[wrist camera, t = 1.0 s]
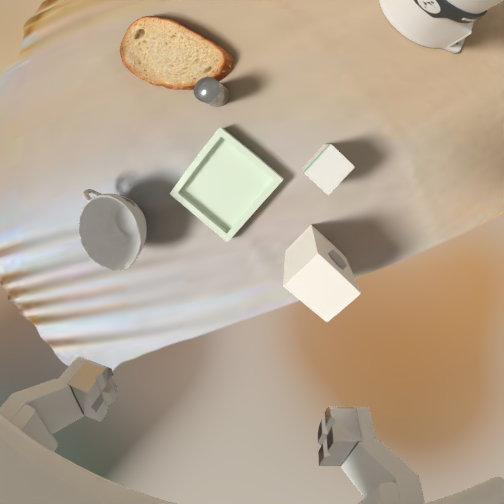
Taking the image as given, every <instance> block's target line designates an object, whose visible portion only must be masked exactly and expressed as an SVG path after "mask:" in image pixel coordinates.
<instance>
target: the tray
mask: <svg viewBox="0 0 504 504" xmlns="http://www.w3.org/2000/svg"><path fill="white" fill-rule="evenodd" d="M283 179H284V178H283V177H282V176H281V175H280V174H278V173H277V172H276V171H275V170H274V169H273V168H271V167H270V166H269V165H268V164H267V163H265V162H264V161H263V160H262V159H261V158H260V157H258V156H257V155H256V154H255V153H254V152H252V151H251V150H250V149H249V148H247V147H246V146H245V145H244V144H243V143H241V142H240V141H239V140H238V139H236V138H235V137H234V136H233V135H231V134H230V133H229V132H228V131H226V130H225V129H224V128H221V127H220V128H219V129H218V130H217V131H216V133H215V134H214V135H213V136H212V138H211V139H210V140H209V141H208V143H207V144H206V145H205V147H204V148H203V149H202V150H201V152H200V153H199V154H198V156H197V157H196V158H195V160H194V161H193V162H192V164H191V165H190V166H189V168H188V169H187V170H186V172H185V173H184V174H183V176H182V177H181V178H180V180H179V181H178V183H177V184H176V185H175V187H174V188H173V190H172V191H171V192H170V195H171V196H173V197H174V198H175V199H176V200H177V201H179V202H180V203H181V204H182V205H183V206H185V207H186V208H187V209H188V210H189V211H190V212H192V213H193V214H194V215H195V216H196V217H198V218H199V219H200V220H201V221H202V222H204V223H205V224H206V225H207V226H208V227H210V228H211V229H212V230H213V231H214V232H216V233H217V234H218V235H219V236H220V237H222V238H223V239H224V240H225V241H226V242H228V241H229V240H230V239H231V238H232V237H233V236H234V235H235V233H236V232H237V231H238V230H239V229H240V228H241V227H242V225H243V224H244V223H245V222H246V221H247V220H248V219H249V218H250V216H251V215H252V214H253V213H254V212H255V211H256V210H257V209H258V207H259V206H260V205H261V204H262V203H263V202H264V201H265V200H266V198H267V197H268V196H269V195H270V194H271V193H272V192H273V191H274V190H275V188H276V187H277V186H278V185H279V184H280V183H281V182H282V181H283Z"/></svg>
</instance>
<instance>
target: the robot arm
mask: <svg viewBox="0 0 504 504" xmlns="http://www.w3.org/2000/svg"><path fill="white" fill-rule="evenodd" d="M503 1H504V0H380V5H381V8H382V10H383V13H384V14H385V16H386V18H387V19H388V20H389V22H390V23H391V24H392V25H393V26H394V27H395V28H396V29H397V30H398V31H399V32H400V33H401V34H403V35H404V36H405V37H407V38H408V39H410V40H412V41H413V42H415V43H417V44H420V45H422V46H426V47H430V48H442V49H445V50H447V51H449V52H451V53H455V54H456V53H458V52H459V51H460V50H461V47H462V45H463V43H464V40H465V38H466V36H468V35H470V34H471V33H472V31H471V29H472V27H473V24H474V21H476V20H478V19H480V18H481V17H482V16H483V15H484V14H485V13H486V12H487V10H488V9H490V8H492V7H493V6H495V5H497V4H499V3H501V2H503ZM112 376H113V372H112V369H111V368H108V367H106V366H103V365H100V364H98V363H95V362H93V361H90V360H87V359H85V358H82V357H78V358H76V359H75V360H74V361H73V363H72V364H71V365H70V366H69V367H68V368H67V369H66V370H65V372H64V373H63V374H62V375H61V377H59V379H58V380H57V379H53V380H50V381H48V382H44V383H42V384H39V385H36V386H33V387H30V388H27V389H24V390H22V391H18V392H16V393H13V394H12V395H11V396H10V397H9V398H8V399H7V401H6V402H5V403H4V404H3V405H2V406H1V408H0V504H175V503H171V502H168V501H165V500H161V499H158V498H155V497H152V496H148V495H146V494H143V493H140V492H137V491H134V490H132V489H129V488H126V487H124V486H121V485H119V484H116V483H114V482H112V481H109V480H107V479H105V478H102V477H100V476H98V475H96V474H94V473H92V472H90V471H88V470H86V469H84V468H82V467H80V466H78V465H76V464H74V463H72V462H70V461H69V460H67V459H65V458H63V457H62V456H60V455H58V454H56V453H55V452H54V451H55V449H56V447H57V446H58V445H57V442H56V440H55V439H54V437H53V436H52V435H51V434H53V433H55V432H57V431H58V430H60V429H62V428H64V427H66V426H67V425H69V424H71V423H73V422H74V421H76V420H78V419H80V418H82V417H83V416H84V415H85V416H88V417H90V418H92V419H95V420H97V421H100V422H101V421H102V419H103V418H104V416H105V414H106V413H107V411H108V409H107V405H110V404H112V403H113V402H114V400H115V398H116V394H117V385H116V382H115V381H114V380H113V379H112V378H111V377H112ZM318 443H319V444H320V445H321V448H320V449H319V452H318V455H319V466H341V468H342V469H343V471H344V472H345V473H346V475H347V476H348V477H349V479H350V480H351V481H352V482H353V484H354V485H355V486H356V487H357V489H358V490H359V492H360V493H361V494H362V496H363V497H364V499H363V500H362V501H361V502H359V503H358V504H504V479H503V478H501V477H495V478H492V479H490V480H487V481H485V482H483V483H481V484H479V485H476V486H474V487H471V488H469V489H466V490H464V491H461V492H459V493H456V494H453V495H450V496H447V497H444V498H441V499H438V500H435V501H432V502H428V503H425V501H424V497H423V492H422V488H421V483H420V479H419V476H418V475H417V474H416V473H415V472H414V471H413V470H412V469H411V468H409V467H408V466H407V465H406V464H405V463H404V462H403V461H402V460H400V458H398V457H397V456H396V455H395V454H394V453H393V452H392V451H391V450H390V449H389V448H388V447H387V446H385V445H384V444H383V443H382V442H381V441H377V440H376V436H375V432H374V427H373V424H372V419H371V414H370V410H369V408H368V407H328V408H327V409H326V411H325V418H324V419H322V420H321V422H320V425H319V429H318Z"/></svg>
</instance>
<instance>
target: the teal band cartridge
mask: <svg viewBox="0 0 504 504" xmlns="http://www.w3.org/2000/svg"><path fill="white" fill-rule="evenodd" d="M302 169H303V173H304V174H306V175H307V176H308V177H309V178H310V179H311V180H312V181H313V182H314V183H315V184H316V185H318V186H319V187H320V188H321V189H322V190H323V191H324V192H325V193H326V194H327V195H329V194H330V193H331V192H332V191H333V190H334V189H335V188H336V187H337V185H338V184H339V183H340V182H341V181H342V180H343V179H344V178H345V177H346V176H347V175H348V174H349V173H350V172H351V171H352V170H353V169H354V166H353V165H352V164H351V163H350V162H349V161H348V160H347V159H346V158H345V157H344V156H343V155H342V154H341V153H340V152H339V151H338V150H337V149H336V148H335V147H334V146H333V145H332V144H324V145H323V146H322V147H321V148H320V149H319V150H318V151H317V152H316V153H315V154H314V156H313V157H312V158H311V159H310V160H309V161H308V162H307V163H306V164H305V165H304V166H303V167H302Z"/></svg>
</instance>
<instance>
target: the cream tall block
mask: <svg viewBox="0 0 504 504" xmlns="http://www.w3.org/2000/svg"><path fill="white" fill-rule="evenodd" d="M283 287H285V288H286V289H287V290H288V291H289V292H291V293H292V294H293V295H294V296H296V297H297V298H298V299H299V300H300V301H302V302H303V303H304V304H305V305H306V306H308V307H309V308H310V309H311V310H313V311H314V312H315V313H316V314H318V315H319V316H320V317H321V318H322V319H323V320H325V321H326V322H328V321H329V320H330V319H331V318H333V317H334V316H335V315H336V314H338V313H339V312H340V311H341V310H342V309H344V308H345V307H346V306H347V305H348V304H349V303H351V301H353V300H354V299H355V298H356V297H357V296H359V295H360V294H361V292H360V290H359V287H358V285H357V282H356V280H355V277H354V275H353V273H352V270H351V268H350V266H349V263H348V261H347V259H346V257H345V256H344V255H343V254H342V253H341V252H340V251H339V250H338V249H337V248H336V247H335V246H334V245H333V244H332V243H331V242H330V241H329V240H328V239H326V238H325V237H324V236H323V235H322V234H321V233H320V232H319V231H318V230H317V229H316V228H315V227H314V226H312V225H310V226H309V227H308V228H307V229H306V231H305V232H304V233H303V234H302V235H301V236H300V237H299V238H298V239H297V240H296V241H295V242H294V243H293V244H292V245H291V246H290V247H289V248H288V249H287V250H286V252H285V267H284V281H283Z"/></svg>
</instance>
